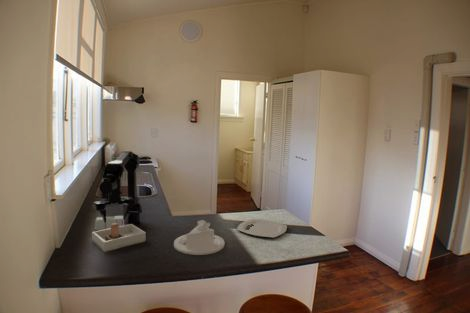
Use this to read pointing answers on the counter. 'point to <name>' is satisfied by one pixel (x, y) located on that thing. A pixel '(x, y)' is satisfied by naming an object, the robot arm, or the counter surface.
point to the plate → (263, 228)
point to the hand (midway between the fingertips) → (114, 220)
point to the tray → (131, 237)
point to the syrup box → (108, 222)
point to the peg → (114, 230)
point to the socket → (108, 237)
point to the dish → (199, 241)
